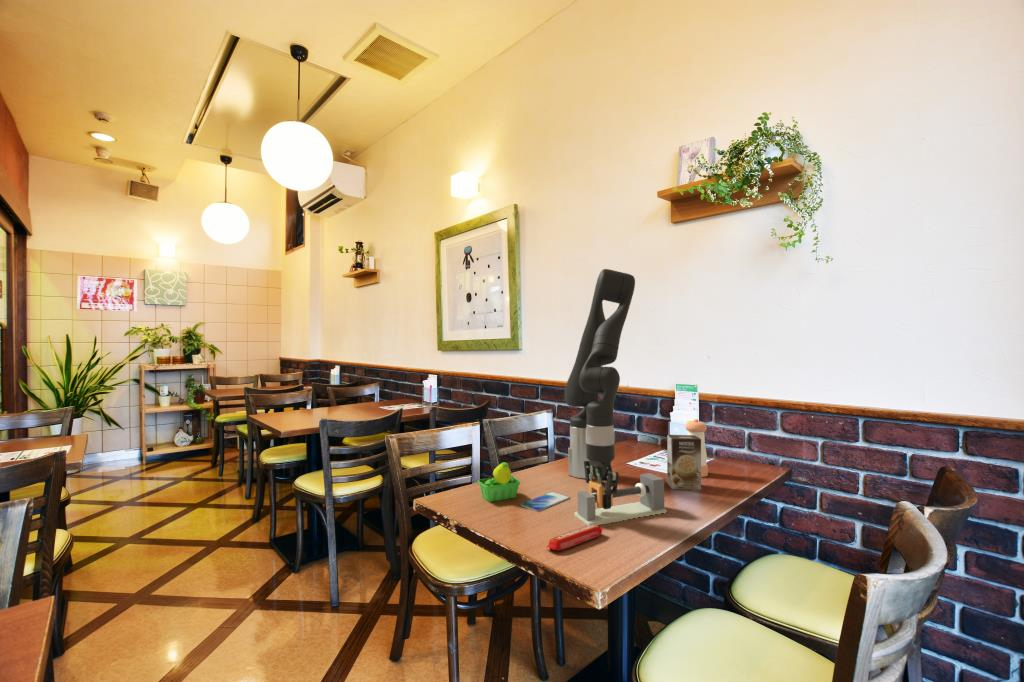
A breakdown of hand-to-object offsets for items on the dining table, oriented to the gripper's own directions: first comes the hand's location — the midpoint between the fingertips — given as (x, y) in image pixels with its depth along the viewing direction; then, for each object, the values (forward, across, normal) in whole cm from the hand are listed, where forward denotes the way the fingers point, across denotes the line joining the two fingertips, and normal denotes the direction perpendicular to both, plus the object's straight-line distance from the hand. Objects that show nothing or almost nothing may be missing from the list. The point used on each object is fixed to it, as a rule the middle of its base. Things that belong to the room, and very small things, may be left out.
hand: (600, 504), depth 121 cm
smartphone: (+4, +16, +9) cm, 19 cm away
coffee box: (+4, +12, -38) cm, 40 cm away
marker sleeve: (0, 0, 0) cm, 0 cm away
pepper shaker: (+4, +21, -51) cm, 56 cm away
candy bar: (+4, -11, +13) cm, 18 cm away
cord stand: (+3, 0, -6) cm, 7 cm away
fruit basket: (+4, +25, +20) cm, 32 cm away
